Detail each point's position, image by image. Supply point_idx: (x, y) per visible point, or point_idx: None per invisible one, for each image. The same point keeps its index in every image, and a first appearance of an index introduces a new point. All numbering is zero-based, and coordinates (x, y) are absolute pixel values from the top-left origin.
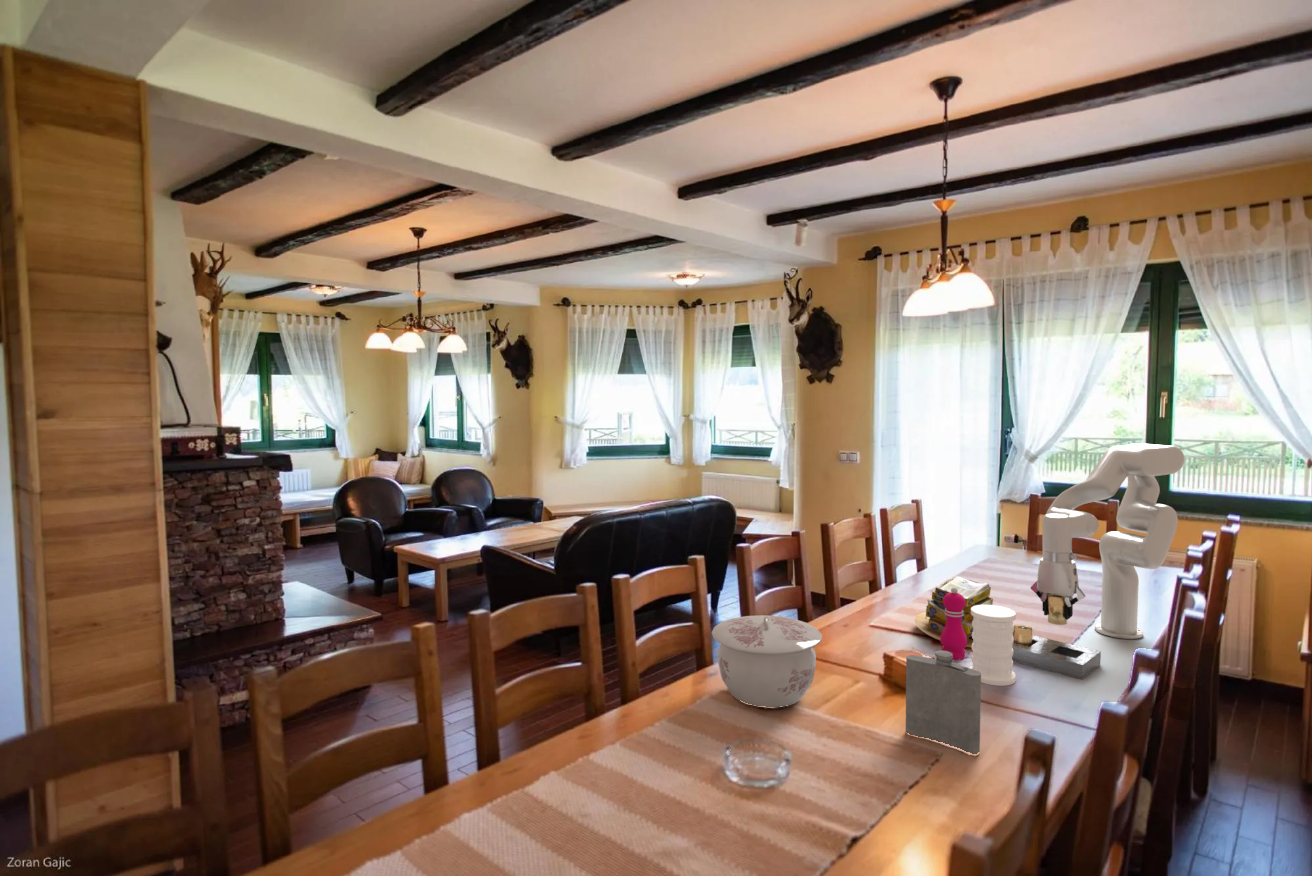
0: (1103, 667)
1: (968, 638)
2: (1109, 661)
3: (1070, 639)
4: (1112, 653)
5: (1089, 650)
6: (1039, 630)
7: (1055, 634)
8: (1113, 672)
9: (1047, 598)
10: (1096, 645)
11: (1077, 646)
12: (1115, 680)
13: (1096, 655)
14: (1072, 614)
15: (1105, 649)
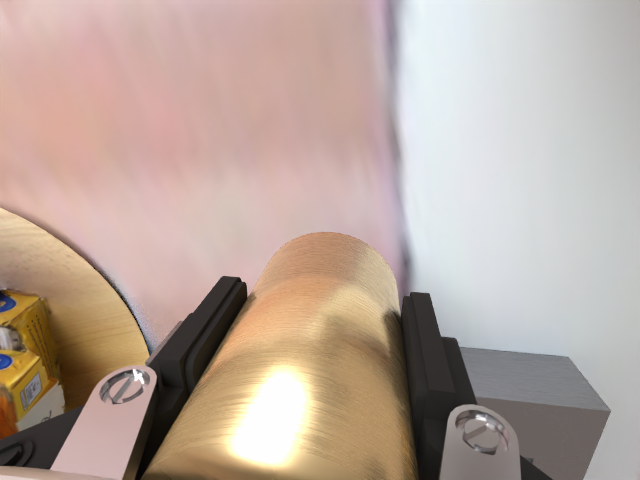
0: (582, 369)
1: (64, 404)
2: (607, 279)
3: (364, 46)
4: (624, 138)
5: (552, 429)
6: (165, 4)
7: (263, 11)
8: (625, 399)
9: (160, 431)
10: (523, 47)
11: (487, 406)
12: (632, 468)
13: (587, 455)
14: (456, 343)
15: (581, 89)
